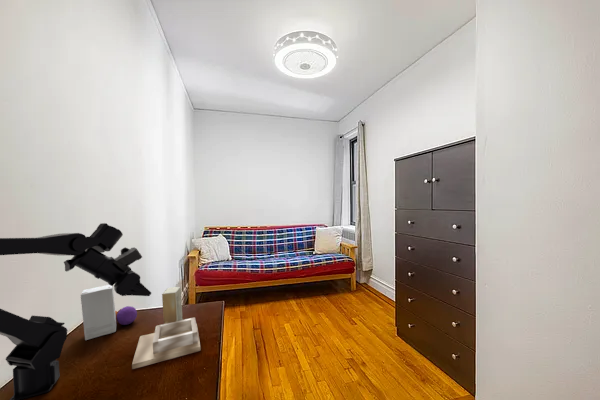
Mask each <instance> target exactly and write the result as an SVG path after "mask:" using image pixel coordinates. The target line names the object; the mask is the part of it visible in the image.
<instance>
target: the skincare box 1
mask: <svg viewBox="0 0 600 400" xmlns="http://www.w3.org/2000/svg"><path fill="white" fill-rule="evenodd" d="M114 292H115V291H114V285H113V286H111V285H109V284H105V285H100V286H97V287H91V288H87V289H82V292H81V293H80V304H81V311H82V312H81V313H82V321H83V332H84V340H85V341H87V340H91V339H94V338H95V339H96V338H98V337H102V336H105V335H109V334H112V333H113V334H114V333H115V332H116V331H117V319H116V313H115V311H116V303H115V293H114Z"/></svg>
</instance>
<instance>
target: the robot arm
mask: <svg viewBox="0 0 600 400" xmlns="http://www.w3.org/2000/svg"><path fill="white" fill-rule="evenodd" d="M122 237H123V232H122V231H121V230H120V229H118V228H116V227H114V226H112V225H109V224H107V223H105V222H104V223H101V222H100V223H99V225H98V226H97V228H96V229H95V230H94V231H93V232H92V233H91V235H90V236H86V234H84V233H80V232H73V233H72V232H71V233H70V232H67V233H66V232H65V233H56V234H50V235H49V234H48V235H44V236H38V237H0V256H10V255H13V256H14V255H28V254H30V255H31V254H42V255H50V256H71V257H72V258H71V259H67V260H65V261H63V264H64V272H69V271H71V270H73V269H74V268H75V267H77V268H79V269H81V270H83V271H84V272H87V273H88V274H90V275H92V276H94V278H96V279H98V280H99V279H100V280H102V281H104V282H106V284H107V285H111V286H113V291H114V292H115V293H116V294H118V295H119V296H121V297H127V296H139V297H151V295H152V292H151V291H150V290H149V289H148V288H147V287H146V286H145V285H144V284H143V283H142V282H141V276H140V274H138V273H137V272H136V271H133V270H132V268H131V267H130V265H132V264H133V263H135V262H136V261H139V260H141V259H142V258H143V256H142V254H141V253H140V252H139V250H138V249H137V248H136V247H131V248H128V247H123V248H121V249H120V254H119V255H118V256H117V257H115V258H114V257H112V256H107V255H106V254H104V253H105V252H110V251H111V250H112V249H113V248H114V247H115V246H116V244H117V243H118V242H119V241H120V239H121V238H122ZM64 325H65V322H62V321H61V322H59V321H56V320H55V319H54V318H53V317H50V316H43V315H42V316H41V315H31V316H30V318H29V319H28V318H24V317H22V316H20V315H17V314H15V313H12V312H10V311H7V310H6V309H3V308H0V335H1V336H3V337H6V338H7V339H8V340H9V341H10V342H11V343H12V344H13V345H15V346H14V347H13V349H12V350H11V351H10V352H9V354H8V355H7V356H6V357H5V361H6V362H7V364H8V365H9V366H12V367H13V366H14V368H12V380H13V382H12V383H13V395H12V396H11V398H9V400H20V399H21V400H24V398H25V399H29V398H32V397H35V396H39V395H41V394H46V393H49V392H50V390H52V389H53V386H54V385H55V384H56V383H57V381H58V380H59V379H60V376H61V374H60V361H59V360H58V359H60V357H61V353H62V351H63V347H64V344H65V343H66V340H67V337H68V328H67V327H65V326H64Z"/></svg>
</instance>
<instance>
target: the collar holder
mask: <svg viewBox="0 0 600 400" xmlns="http://www.w3.org/2000/svg"><path fill="white" fill-rule="evenodd" d="M199 335H200V334H199V329H198V324H197V321H196V317H190V318H185V319H182V320H180V321H176V322H171V323H167V324H164V323H162V324H159V325H158V324H157V325H155V330H154V332H153V333H149V334H147V333H146V334H144V335H140V336H139V339H138V343H137V345H136V350H135V353H134V356H133V359H132V364H131V370H135V369H139V368H143V367H146V366H149V365H153V364H156V363H160V362H164V361H165V362H166V361H168V360H172V359H176V358H179V357H183V356H186V355H191V354H193V353H197V352H200V351H201V349H202V348H201V342H200V336H199Z"/></svg>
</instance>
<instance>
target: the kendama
mask: <svg viewBox="0 0 600 400" xmlns="http://www.w3.org/2000/svg"><path fill="white" fill-rule="evenodd" d="M115 313H116V322H117V323H118V324H120V325H123V326H127V325H129V324H132V323H133V322H135V320H136V318H137V316H138V311H137V309H136V308H135V307H134V306H129V305H128V306H124V307H122V308H120V309H119V310H115Z"/></svg>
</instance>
